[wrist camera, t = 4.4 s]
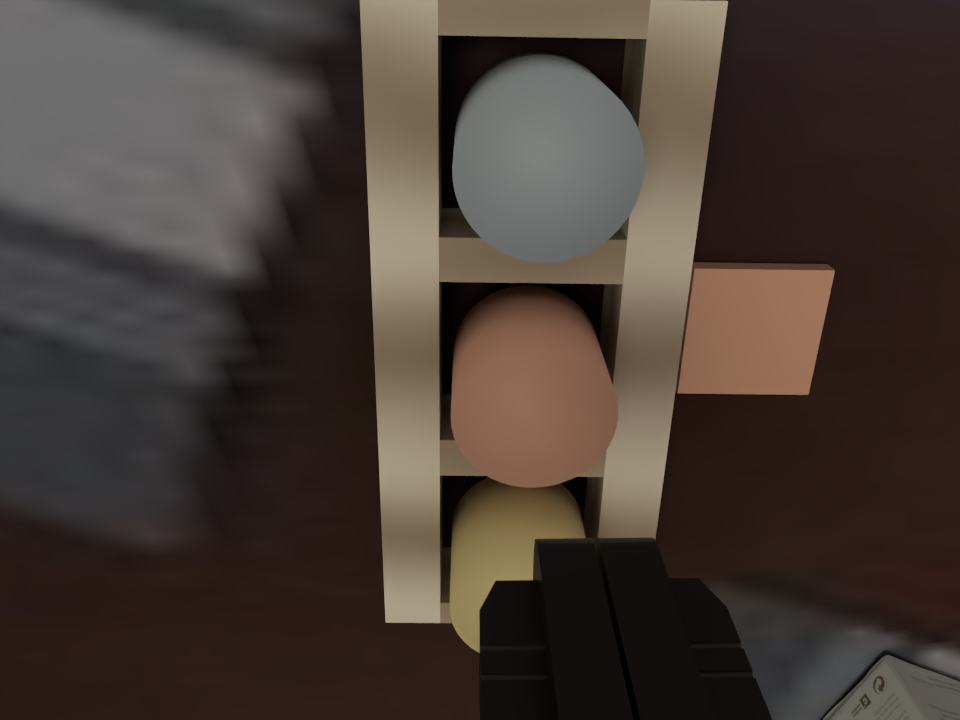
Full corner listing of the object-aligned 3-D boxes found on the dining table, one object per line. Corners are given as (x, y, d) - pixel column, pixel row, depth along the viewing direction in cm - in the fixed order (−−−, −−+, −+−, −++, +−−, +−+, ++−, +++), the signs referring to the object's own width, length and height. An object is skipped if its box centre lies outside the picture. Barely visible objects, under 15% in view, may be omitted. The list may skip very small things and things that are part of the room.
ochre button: (577, 576, 29) (592, 663, 26) (451, 575, 29) (449, 662, 26) (586, 471, 27) (604, 549, 24) (452, 469, 27) (449, 548, 24)
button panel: (629, 567, 32) (643, 624, 29) (393, 565, 32) (385, 622, 29) (698, -5, 23) (727, 1, 20) (372, -11, 23) (359, -6, 20)
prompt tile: (801, 386, 29) (808, 394, 28) (673, 384, 28) (677, 393, 28) (827, 263, 27) (835, 270, 26) (690, 262, 27) (694, 268, 26)
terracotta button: (591, 416, 27) (610, 488, 23) (453, 414, 26) (450, 486, 23) (603, 285, 25) (625, 342, 21) (453, 284, 25) (450, 340, 21)
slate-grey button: (610, 217, 24) (634, 264, 20) (454, 215, 24) (451, 261, 20) (624, 52, 22) (655, 71, 18) (455, 49, 22) (452, 68, 18)
